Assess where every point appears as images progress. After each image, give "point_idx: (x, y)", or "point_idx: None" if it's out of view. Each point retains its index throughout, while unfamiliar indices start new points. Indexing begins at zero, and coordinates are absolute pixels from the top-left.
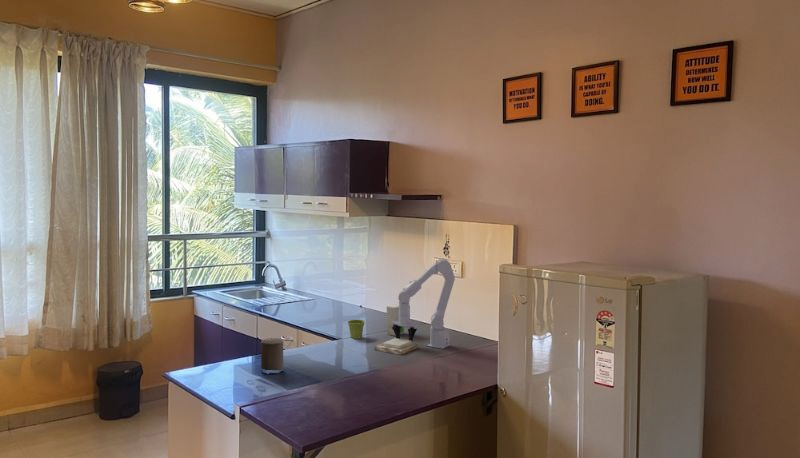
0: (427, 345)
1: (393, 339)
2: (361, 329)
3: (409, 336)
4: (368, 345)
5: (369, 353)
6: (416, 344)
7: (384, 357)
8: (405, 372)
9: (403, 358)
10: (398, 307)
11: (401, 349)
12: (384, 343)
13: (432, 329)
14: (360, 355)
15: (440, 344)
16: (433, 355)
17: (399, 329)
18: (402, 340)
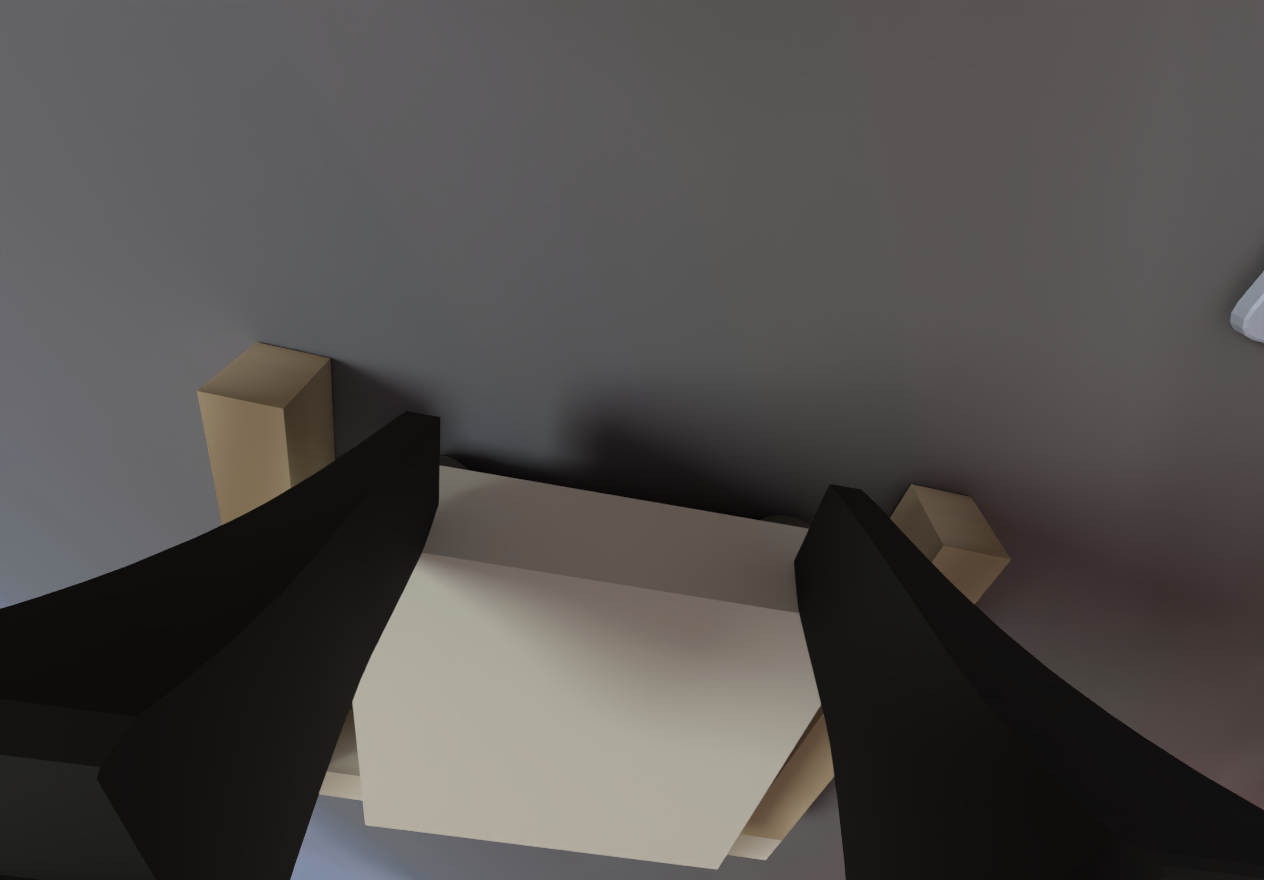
0: (1253, 339)
1: (391, 642)
2: None
3: (839, 727)
4: (13, 591)
5: (358, 820)
6: (981, 593)
7: (602, 870)
8: None
9: (825, 861)
10: None
11: (754, 828)
12: (407, 826)
13: None
14: (324, 868)
15: None
16: (1255, 740)
17: (277, 673)
18: (637, 656)
